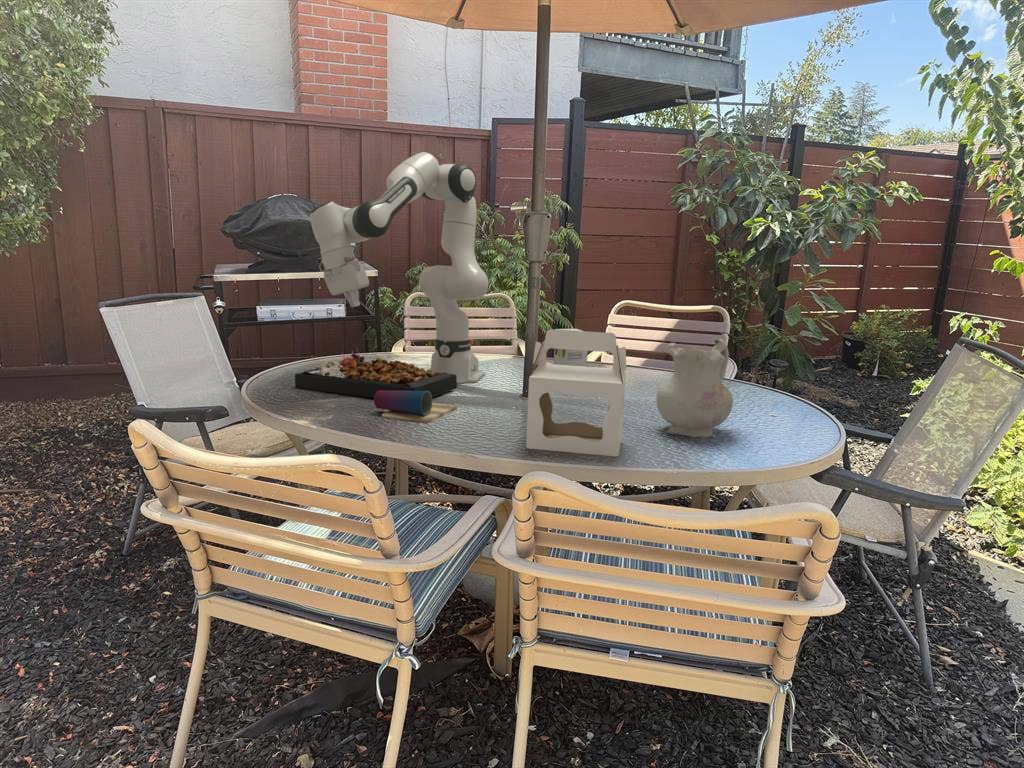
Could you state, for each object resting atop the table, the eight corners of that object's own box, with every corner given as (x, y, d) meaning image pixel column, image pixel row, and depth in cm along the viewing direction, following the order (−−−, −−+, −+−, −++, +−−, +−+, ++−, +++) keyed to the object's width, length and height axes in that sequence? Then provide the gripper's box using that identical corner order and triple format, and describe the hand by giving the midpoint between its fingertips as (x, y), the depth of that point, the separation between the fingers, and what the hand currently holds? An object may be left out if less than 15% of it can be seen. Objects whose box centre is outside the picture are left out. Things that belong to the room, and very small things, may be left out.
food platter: (295, 387, 222) (293, 355, 220) (344, 375, 243) (343, 346, 241) (414, 403, 203) (414, 368, 201) (456, 388, 225) (456, 356, 223)
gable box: (622, 441, 174) (629, 330, 168) (619, 457, 161) (627, 337, 155) (534, 434, 178) (539, 325, 172) (525, 448, 165) (529, 331, 160)
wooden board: (414, 403, 206) (414, 400, 206) (457, 408, 201) (457, 406, 201) (382, 416, 190) (382, 413, 190) (427, 423, 185) (427, 420, 185)
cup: (386, 406, 198) (433, 411, 193) (373, 414, 192) (421, 419, 187) (383, 384, 196) (431, 387, 191) (371, 391, 190) (419, 395, 185)
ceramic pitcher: (680, 421, 200) (681, 335, 196) (747, 429, 187) (749, 337, 183) (643, 436, 183) (643, 342, 179) (714, 446, 171) (715, 345, 167)
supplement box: (552, 373, 259) (554, 328, 256) (573, 372, 263) (576, 328, 259) (564, 378, 251) (567, 332, 247) (586, 377, 254) (589, 331, 251)
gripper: (364, 251, 193) (381, 299, 196) (335, 262, 209) (351, 306, 212) (344, 257, 189) (361, 306, 192) (316, 267, 205) (332, 312, 208)
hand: (355, 306), depth 202 cm, fingers closed
